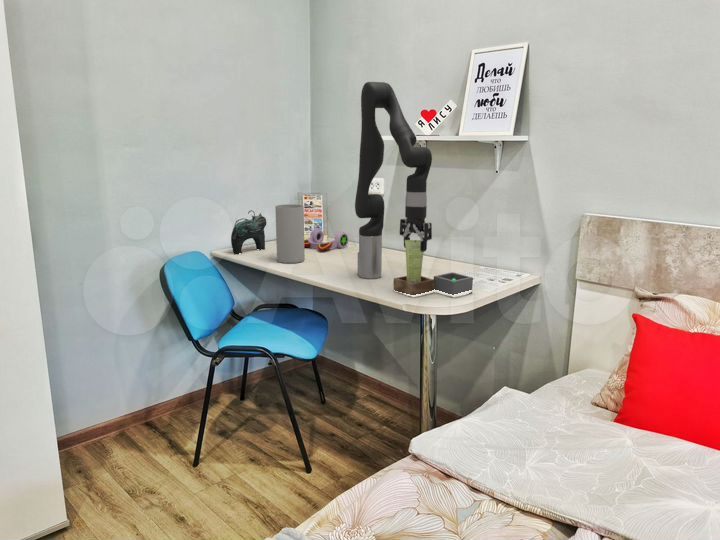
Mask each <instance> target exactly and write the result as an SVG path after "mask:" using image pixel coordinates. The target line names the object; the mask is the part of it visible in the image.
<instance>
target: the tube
mask: <svg viewBox="0 0 720 540" xmlns="http://www.w3.org/2000/svg"><path fill="white" fill-rule="evenodd" d="M420 243H421V239H410V240H405V248H404V249H405V259H406V260H405V261H406V262H405V263H406V266H405V267H406V276H407V281H408V282H411V283H417V282H421V276H422V269H423V260H424V253H425V251H424V252H421V251H420Z"/></svg>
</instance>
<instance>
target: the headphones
mask: <svg viewBox="0 0 720 540" xmlns="http://www.w3.org/2000/svg"><path fill="white" fill-rule="evenodd" d="M348 235H349V234H347V233H346V232H343V231H339V232H337V233H336V235H335V236H334V239H333V240H331V241H326V242H323V241H324V238H325V234H324V232H323V230H322V229H321V228H314V229H312V231H311V232H310V235H309V237H308V238H307V239H304V248H310V249H311V250H318V251H326V250H331V249H334V248H337V249H344V247H345V248H346V247H347V246H348V244H349V236H348Z"/></svg>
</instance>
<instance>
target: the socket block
mask: <svg viewBox="0 0 720 540" xmlns="http://www.w3.org/2000/svg"><path fill="white" fill-rule="evenodd" d="M433 279H434V280H435V282H434V289H435V290H439V291H442V292H445V293H448V294H452V295H454V294H458V293H461V292H465V291H469V290H472V291H473V284H474V283H473V281H474V277H472V276H468V275H465V274H461V273H459V272H458V273H457V272H453V271H451V272H447V273H442V274H436V275H434V276H433Z"/></svg>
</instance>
